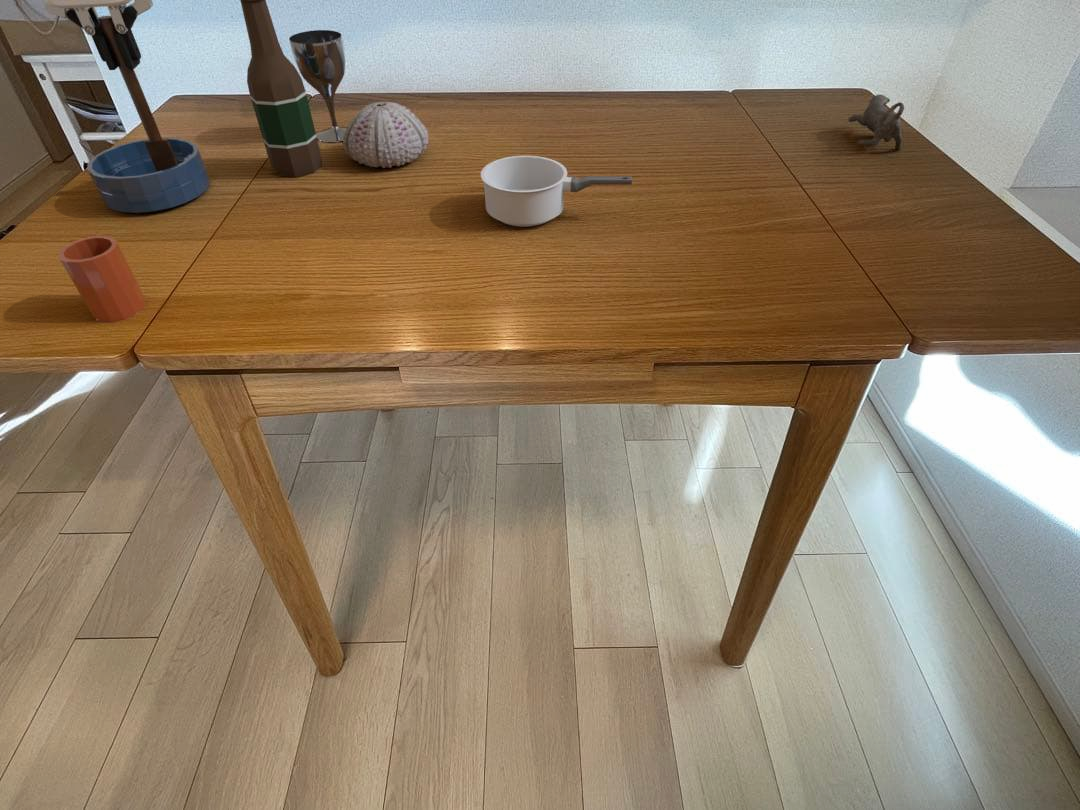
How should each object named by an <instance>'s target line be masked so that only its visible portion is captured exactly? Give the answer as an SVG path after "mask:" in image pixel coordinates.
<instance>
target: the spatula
mask: <svg viewBox="0 0 1080 810" xmlns="http://www.w3.org/2000/svg"><path fill="white" fill-rule="evenodd" d="M98 20H99V22H100V24H101V27H102V29H103V32H104V34H105V36H106V39H107V41H108V43H109V46H110V48H111V50H112V53H113V55H114V58H115V60H116V62H117V65H118V67H117V68H118V69H119V72H120V74H121V77H122V79H123V81H124V84H125V86H126V88H127V90H128V93H129V95H130V98H131V100H132V102H133V105H134V108H135V110H136V112H137V114H138V117H139V119H140V122H141V125H142V126H143V129H144V131H145V133H146V136H147V139H149V140H145V141H144V143H145V145H146V148H147V150H148V152H149V155H150V157H151V159H152V162H153V164H154V166H155V169H156V171H157V172H159V171H162V170H165V169H169V168H171V167H174V166H176V165H178V162H177V160H176V157H175V155H174V152H173V150H172V147H171V145H170V142H169V140H168V138H169V137H167V138H166V137H165V138H164V137H162V134H161V132H160V130H159V128H158V127H159V126H158V125H157V122H156V119H155V117H154V115H153V113H152V110H151V108H150V105H149V103H148V100H147V99H146V95H145V93H144V91H143V88H142V86H141V84H140V81H139V79H138V76H137V73H136V72H135V69H129V68H127V66H126V64H125V61H124V59H123V56H122V54H121V51H120V49H119V47H118V44H117V42H116V39H115V34H117V32H116V29H115V25H114V22H113V20H112V17H111V15H102V16H99V18H98ZM162 138H164V139H162Z"/></svg>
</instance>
